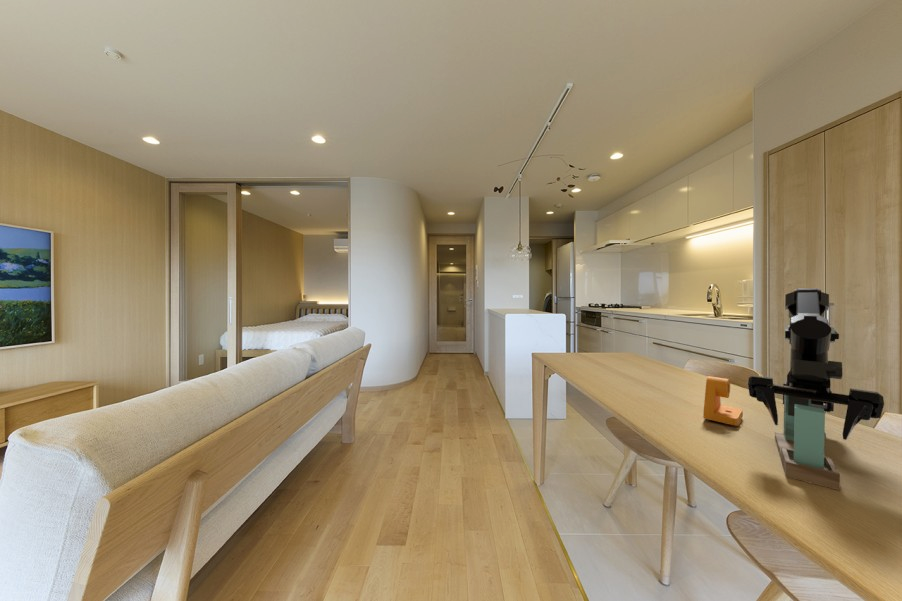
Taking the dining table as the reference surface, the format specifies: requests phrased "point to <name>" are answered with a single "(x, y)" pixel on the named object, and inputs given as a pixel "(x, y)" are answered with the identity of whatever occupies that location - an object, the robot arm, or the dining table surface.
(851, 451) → the dining table surface
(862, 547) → the dining table surface
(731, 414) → the bracket
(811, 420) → the finger block
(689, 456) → the dining table surface
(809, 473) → the brown wooden stand
